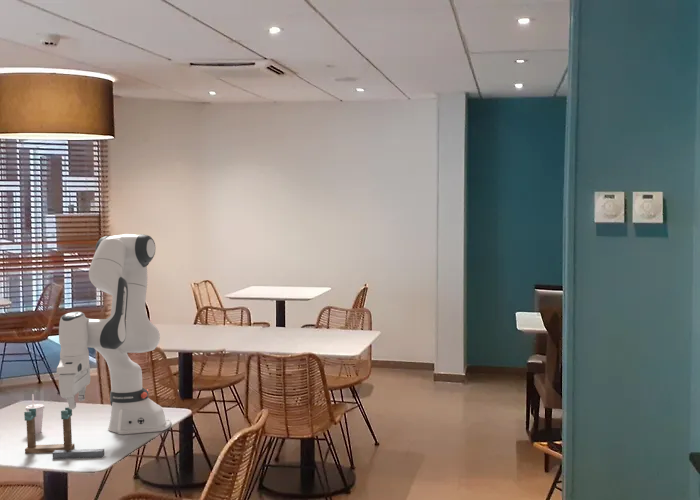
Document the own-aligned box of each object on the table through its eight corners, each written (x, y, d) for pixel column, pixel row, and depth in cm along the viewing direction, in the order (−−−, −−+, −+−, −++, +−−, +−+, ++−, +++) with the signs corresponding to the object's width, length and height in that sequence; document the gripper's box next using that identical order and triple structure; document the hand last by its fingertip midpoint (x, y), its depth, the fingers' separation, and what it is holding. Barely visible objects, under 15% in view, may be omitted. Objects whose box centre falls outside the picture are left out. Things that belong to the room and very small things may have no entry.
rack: (75, 447, 257) (73, 407, 257) (70, 452, 253) (68, 410, 252) (30, 449, 257) (28, 408, 256) (24, 453, 252) (22, 412, 251)
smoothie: (29, 430, 280) (28, 392, 279) (47, 429, 280) (46, 391, 280) (23, 435, 274) (22, 396, 273) (42, 434, 274) (40, 396, 273)
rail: (104, 456, 249) (104, 448, 249) (102, 458, 246) (102, 451, 246) (55, 457, 248) (55, 450, 248) (52, 460, 246) (52, 452, 246)
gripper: (75, 356, 256) (77, 396, 257) (54, 370, 235) (56, 413, 236) (94, 355, 256) (96, 395, 257) (75, 369, 236) (77, 412, 237)
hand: (77, 404), depth 247 cm, fingers open, 8 cm apart
